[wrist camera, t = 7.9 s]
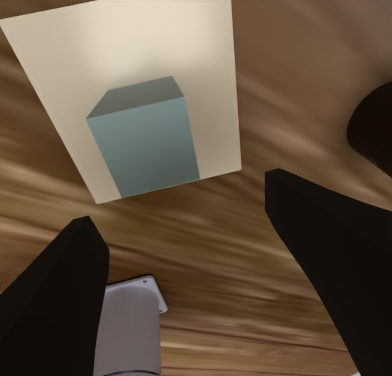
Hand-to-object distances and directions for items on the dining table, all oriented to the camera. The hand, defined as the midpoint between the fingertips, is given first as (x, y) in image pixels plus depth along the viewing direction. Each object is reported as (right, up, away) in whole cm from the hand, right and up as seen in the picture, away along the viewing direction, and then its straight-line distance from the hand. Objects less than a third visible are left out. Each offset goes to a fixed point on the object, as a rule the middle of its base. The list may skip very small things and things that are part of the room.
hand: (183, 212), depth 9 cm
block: (-3, +6, +6) cm, 9 cm away
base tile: (-3, +7, +7) cm, 11 cm away
